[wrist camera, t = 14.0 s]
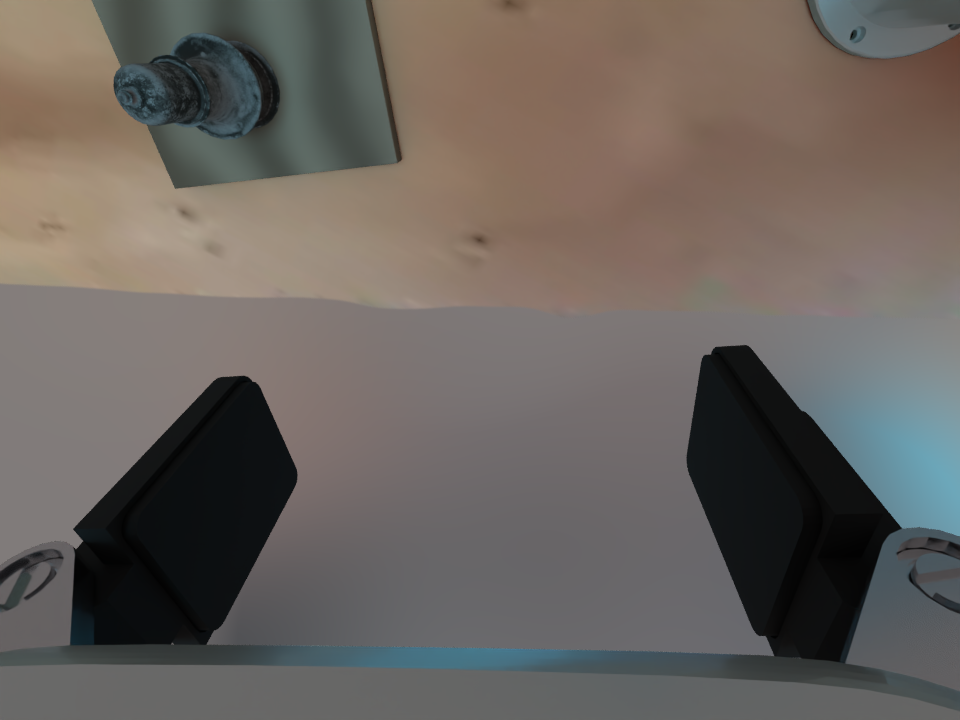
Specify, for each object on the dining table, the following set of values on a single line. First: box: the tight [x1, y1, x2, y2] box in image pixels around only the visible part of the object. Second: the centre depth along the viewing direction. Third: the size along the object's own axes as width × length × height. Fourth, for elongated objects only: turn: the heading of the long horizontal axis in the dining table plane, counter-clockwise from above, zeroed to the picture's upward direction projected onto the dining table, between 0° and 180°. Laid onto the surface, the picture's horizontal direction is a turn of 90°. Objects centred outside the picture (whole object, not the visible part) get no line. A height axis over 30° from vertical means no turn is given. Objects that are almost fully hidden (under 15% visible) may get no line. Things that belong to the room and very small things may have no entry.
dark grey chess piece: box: [114, 33, 280, 140], centre depth 28 cm, size 6×6×12 cm
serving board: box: [92, 0, 401, 189], centre depth 33 cm, size 18×14×2 cm
